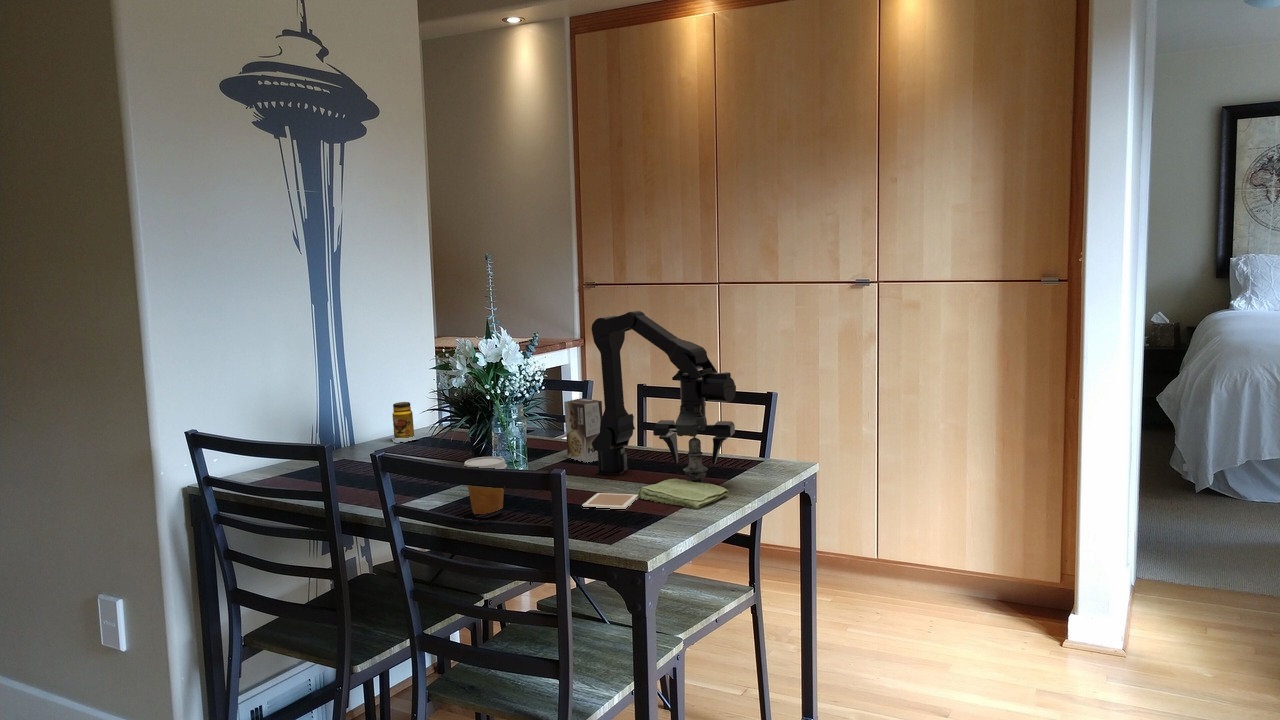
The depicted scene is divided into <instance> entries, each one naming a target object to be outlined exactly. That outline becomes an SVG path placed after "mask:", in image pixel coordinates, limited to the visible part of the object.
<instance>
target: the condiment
mask: <svg viewBox="0 0 1280 720" xmlns="http://www.w3.org/2000/svg"><path fill="white" fill-rule="evenodd" d="M392 408H393V409H392V411H393V412H392V425H393V439H394V438H409V437H413V436H414V437H415V428H414V414H413V411H412V410H411V409H412V407H411V402H409V401H399V402H395V403H393V405H392Z"/></svg>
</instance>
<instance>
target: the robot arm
mask: <svg viewBox="0 0 1280 720" xmlns="http://www.w3.org/2000/svg"><path fill="white" fill-rule="evenodd" d="M590 329H591V334H592V338H593V343H594V345H595V346H596V348H597V350H598V352H599V353H600V354H599V355H600V362H601V377H602V388H603V403H604V411H603V412H602V418H601V421H600V433H599V434H598V436H597V437H596V438H595V439H594V440H593V442H592V446H593V449H594V451H598V461H597V464H598V465H597V466H598V470H597V471H596V473H595V474H597V475H615V476H620V475H622V474H623V473H625V472H626V471H627V470H628V458H627V456H628V455H627V453H626V452H625V451H626V449H625V447H627V446H628V445H629V443H630V439H631V438H632V436H633V435H634V430H636V427H635V425H634V419H635V418H634V414H633V413H628V412H627V409H626V408H625V401H624V400H625V399H624V398H625V396H624V387H623V374H622V373H623V372H622V360H621V350H622V347H623V345H624V342H625V339H626V332H628V331H634V332H635V333H637V334H638V335H640V336H641V337H642V338H644V339H645V340H646V341H648V342H649V343H651V344H652V345H654V346H655V347H657V348H658V349H659V350H660V351H662V352H663V353H664V354H665V355H667V357H668V359H669V361H670V363H672V364H673V366H674V367H675V368H677V370H678V371H677V372H676V373H675V374H674V376H672V377H671V379H672V381H678V382H679V385H680V386H679V387H680V388H679V389H680V406H679V413H678V416H677V419H676V421H675V420H673V419H672V420H670V419H665V420H664V419H663V420H662V419H661V420H659V421H657V422H655V424H653V428H652V431H653V436H655V437H658V439H659V440H663V441H664V442H665V444H666V445H667V447H668V449H669V451H670V454H671V456H672V459H673V462H674V464H675V465H677V464H678V463H679V452H678V451H679V450H678V437H683V436H687V437H690V438H691V437H692V438H693V436H695V437H696V436H698V433H706V434H708V433H710V434H713V435H714V437H713V438H712V445H713V446H712V459H711V461H712V465H713V466H715V465H716V463H717V459H718V457H719V454H720V450H721V448H722V445H723V443H724V441H726V440H728V438H731V437H732V436H733V435H734V434H735V433H736V428H735V427H736V426H735V423H734V422H733V421H732V420H731V421H730V420H728V421H727V420H718V421H717V422H715V423H714V424H708V422H707V421H708V420H707V416H706V406H707V405H706V404H707V403H706V401H708V402H709V401H710V402H720V403H721V402H722V403H723V402H724V403H731V402H732V401H733V400H735V397H736V394H737V393H736V392H737V386H736V383H735V381H734V379H733V378H732V375H731V372H729V371H728V372H727V371H726V372H718V370H717V369H716V368H715V366H714V365H713V363H712V361H711V360H710V359H709V357H708V354H707V353H708V352H707V350H706V348H704V347H703V346H701V345H698V344H697V343H695V342H691V341H689V340H685V339H681V338H680V337H678V336H676V335H674V334H673V333H672V332H671V331H669V330H667V329H666V328H664V327H663V326H662V325H660V324H658V323H657V322H655V321H654V320H653V319H652V318H649V317H648V316H647V315H646V314H645V313H644V312H642V311H640V310H634V311H628V312H626V313H625V314H621V315H610V316H609V315H608V316H604V317H603V316H602V317H598V318H596V319H595V320H594V321H593V322H592V324H591V328H590ZM677 436H678V437H677Z"/></svg>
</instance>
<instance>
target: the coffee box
mask: <svg viewBox="0 0 1280 720" xmlns="http://www.w3.org/2000/svg"><path fill="white" fill-rule="evenodd" d="M563 403H564V405H563V407H564V420H565V423H564V424H565V434H566V435H565V437H566V450H567V451H566V452H567V453H566V454H567V459H568V458H571V459H574V460H573V461H576V460H578V461H577V462H581V461H583V462H582V463H586V462H587V464H589V463H588V462H590V463H594V462H598V451H594V449H593V446H592V442H593V440H594V439H595V438H596V437H597V436H598V434H599V433H600V421H601V418H602V416H603V401H602V400H596V399H591V398H590V399H589V398H576V399H571V400H567V401H564V402H563ZM571 459H570V460H571ZM593 461H594V462H593Z"/></svg>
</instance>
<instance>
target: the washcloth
mask: <svg viewBox="0 0 1280 720" xmlns="http://www.w3.org/2000/svg"><path fill="white" fill-rule="evenodd" d="M729 492H730V491H729V490H728V489H726V488H725V487H723V486H720V485H716V484H712V483H707V484H706V483H698V482H697V483H696V482H691V481H688V480H686V479H679V478H668V479H665V480H662V481H659V482H658V483H655V484H649V485H646V486H642V487H641V488H640V489H639V490H638V493H637V495H638V496H639V499H640V500H643V499H644V500H643V501H648V500H650V501H649V502H652V501H654V502H653V503H659V502H660V504H664V503H665V505H672V506H673V505H674V506H679V507H686V508H691V509H695V510H698V509H700V508H702V507H704V506H705V505H708V504H711V503H713V502H715V501H717V500H720V499H721V498H723V497H725V496H728V495H729V494H730V493H729Z"/></svg>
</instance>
